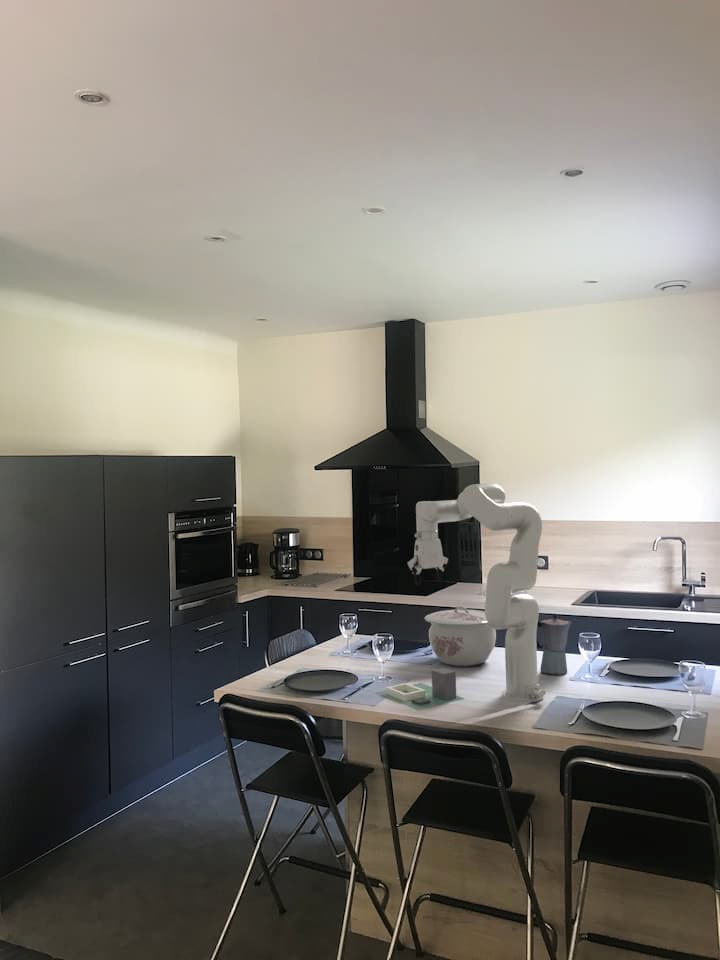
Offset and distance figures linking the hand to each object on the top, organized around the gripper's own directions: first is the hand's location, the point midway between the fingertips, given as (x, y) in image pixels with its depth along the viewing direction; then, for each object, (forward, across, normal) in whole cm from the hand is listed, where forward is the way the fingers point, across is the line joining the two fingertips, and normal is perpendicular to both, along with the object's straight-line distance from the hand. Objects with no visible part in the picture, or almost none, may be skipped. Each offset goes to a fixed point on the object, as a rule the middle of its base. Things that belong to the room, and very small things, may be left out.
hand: (428, 583), depth 269 cm
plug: (+29, -20, -32) cm, 48 cm away
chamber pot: (+31, +16, +1) cm, 35 cm away
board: (+31, -25, -26) cm, 47 cm away
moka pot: (+31, +30, -30) cm, 52 cm away
